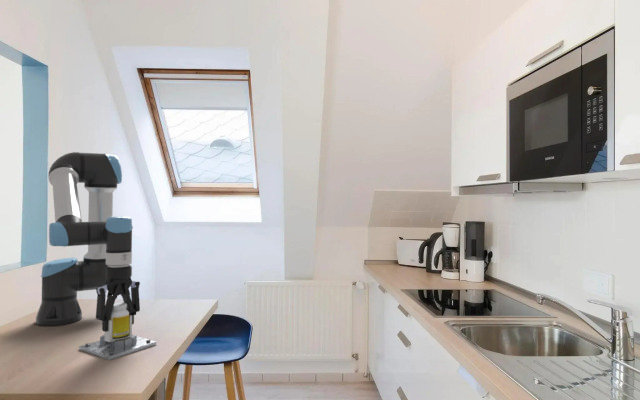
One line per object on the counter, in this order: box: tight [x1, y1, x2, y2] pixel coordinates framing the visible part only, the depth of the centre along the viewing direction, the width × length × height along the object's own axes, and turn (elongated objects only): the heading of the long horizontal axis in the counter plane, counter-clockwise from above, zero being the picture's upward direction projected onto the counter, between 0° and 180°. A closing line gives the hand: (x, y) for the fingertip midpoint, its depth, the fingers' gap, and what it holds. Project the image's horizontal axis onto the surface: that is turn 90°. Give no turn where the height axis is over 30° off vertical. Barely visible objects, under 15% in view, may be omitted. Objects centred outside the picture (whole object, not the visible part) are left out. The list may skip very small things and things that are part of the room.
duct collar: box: [78, 333, 157, 361], centre depth 137 cm, size 16×16×4 cm
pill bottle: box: [109, 302, 129, 342], centre depth 137 cm, size 6×6×11 cm
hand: (118, 338), depth 137 cm, fingers closed on pill bottle, 6 cm apart
